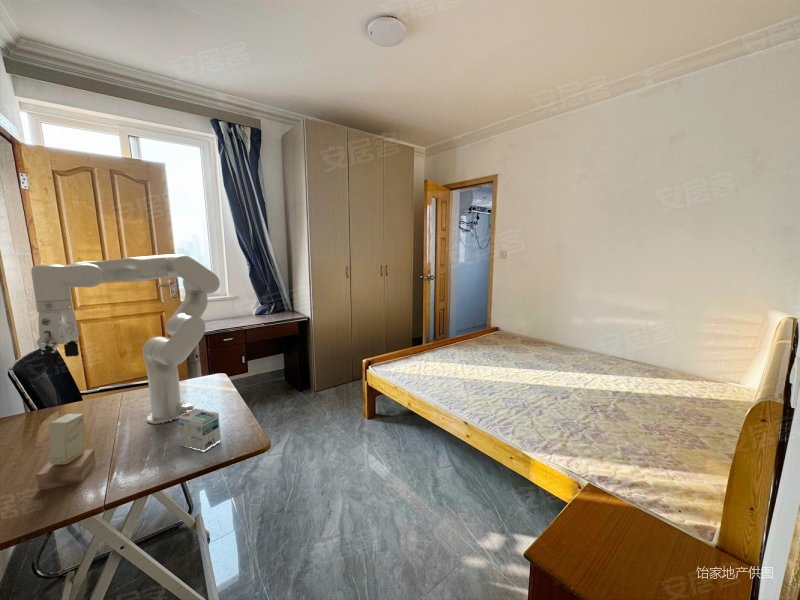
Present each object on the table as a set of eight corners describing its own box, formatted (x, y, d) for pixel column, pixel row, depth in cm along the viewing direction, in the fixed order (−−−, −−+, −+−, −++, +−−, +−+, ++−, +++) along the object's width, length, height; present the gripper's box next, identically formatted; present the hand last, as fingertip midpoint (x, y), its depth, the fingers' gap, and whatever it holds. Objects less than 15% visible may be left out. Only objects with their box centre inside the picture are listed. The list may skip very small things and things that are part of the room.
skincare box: (66, 465, 92) (65, 423, 91) (48, 465, 92) (47, 422, 91) (85, 452, 99) (84, 413, 98) (68, 452, 98) (67, 412, 97)
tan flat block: (96, 464, 101) (94, 448, 101) (82, 482, 93) (80, 466, 92) (56, 471, 98) (54, 455, 97) (39, 491, 89) (36, 474, 89)
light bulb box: (221, 442, 113) (219, 412, 111) (204, 453, 106) (201, 422, 105) (198, 436, 116) (195, 407, 114) (179, 447, 110) (177, 416, 108)
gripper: (52, 310, 93) (60, 368, 95) (86, 301, 109) (93, 351, 112) (16, 311, 91) (26, 371, 93) (57, 302, 107) (64, 353, 109)
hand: (62, 360), depth 102 cm, fingers open, 9 cm apart
